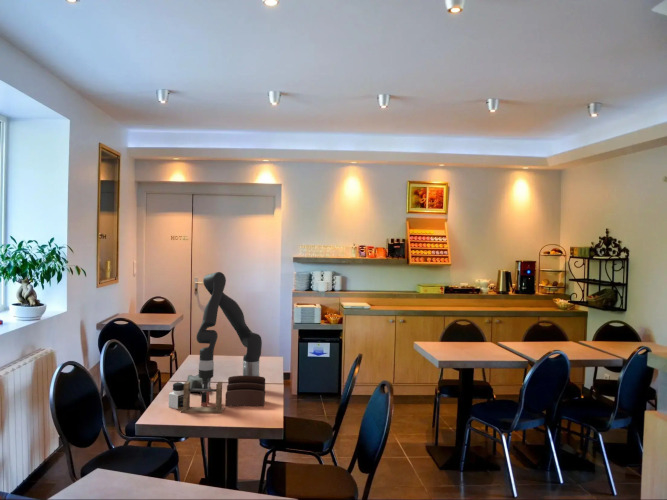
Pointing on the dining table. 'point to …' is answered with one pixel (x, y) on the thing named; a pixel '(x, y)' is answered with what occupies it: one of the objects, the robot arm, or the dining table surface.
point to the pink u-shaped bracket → (206, 399)
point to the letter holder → (245, 391)
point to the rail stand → (189, 409)
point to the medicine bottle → (176, 396)
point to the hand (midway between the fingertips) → (205, 400)
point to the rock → (195, 382)
